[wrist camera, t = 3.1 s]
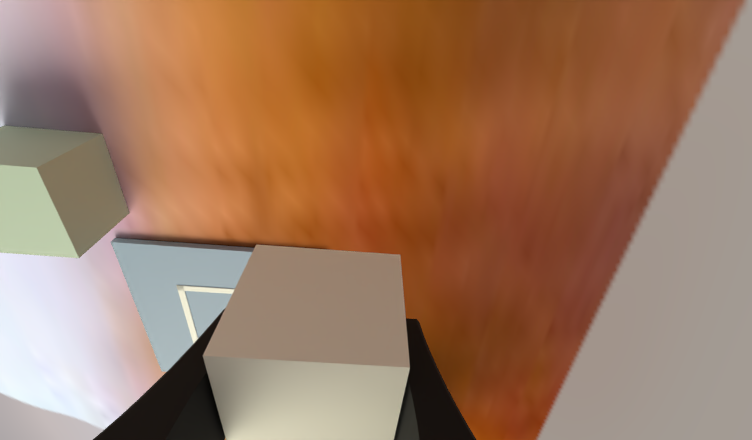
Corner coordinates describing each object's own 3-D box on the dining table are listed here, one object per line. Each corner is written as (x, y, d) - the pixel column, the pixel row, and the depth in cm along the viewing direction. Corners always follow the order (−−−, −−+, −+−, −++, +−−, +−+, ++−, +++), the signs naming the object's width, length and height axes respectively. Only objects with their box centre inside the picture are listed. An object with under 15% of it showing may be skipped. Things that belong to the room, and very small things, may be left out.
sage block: (130, 212, 20) (79, 257, 16) (46, 205, 19) (-24, 250, 16) (103, 133, 17) (36, 167, 14) (6, 124, 17) (-86, 158, 14)
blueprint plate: (323, 375, 27) (323, 380, 27) (164, 366, 27) (161, 372, 26) (325, 252, 21) (324, 257, 20) (115, 237, 20) (110, 242, 20)
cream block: (385, 346, 14) (388, 463, 10) (267, 339, 13) (230, 455, 10) (400, 254, 11) (409, 367, 8) (256, 244, 11) (202, 356, 8)
